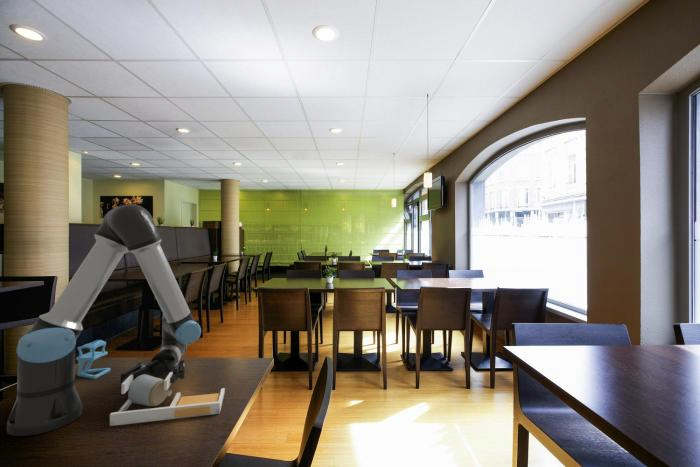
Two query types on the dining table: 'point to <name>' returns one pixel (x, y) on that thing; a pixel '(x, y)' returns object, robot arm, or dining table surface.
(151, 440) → the dining table surface
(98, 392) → the dining table surface
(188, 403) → the bay rack
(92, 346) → the chair
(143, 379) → the ceramic mug
